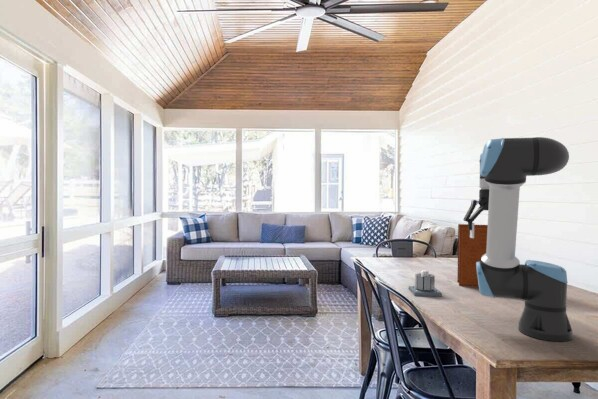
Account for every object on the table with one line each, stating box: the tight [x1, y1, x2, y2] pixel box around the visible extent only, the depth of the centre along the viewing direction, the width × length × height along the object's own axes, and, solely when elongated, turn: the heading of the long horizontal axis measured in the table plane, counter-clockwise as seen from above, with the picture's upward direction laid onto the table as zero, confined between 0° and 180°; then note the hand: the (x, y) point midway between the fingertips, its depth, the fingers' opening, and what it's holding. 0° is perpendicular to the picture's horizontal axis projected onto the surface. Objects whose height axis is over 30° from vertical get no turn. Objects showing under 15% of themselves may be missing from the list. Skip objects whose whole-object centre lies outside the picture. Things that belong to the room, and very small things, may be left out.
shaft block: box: [408, 269, 443, 297], centre depth 181 cm, size 12×12×10 cm
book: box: [456, 223, 488, 288], centre depth 195 cm, size 23×8×30 cm, turn 73°
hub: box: [414, 272, 436, 290], centre depth 181 cm, size 8×8×6 cm
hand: (488, 238), depth 169 cm, fingers open, 13 cm apart
